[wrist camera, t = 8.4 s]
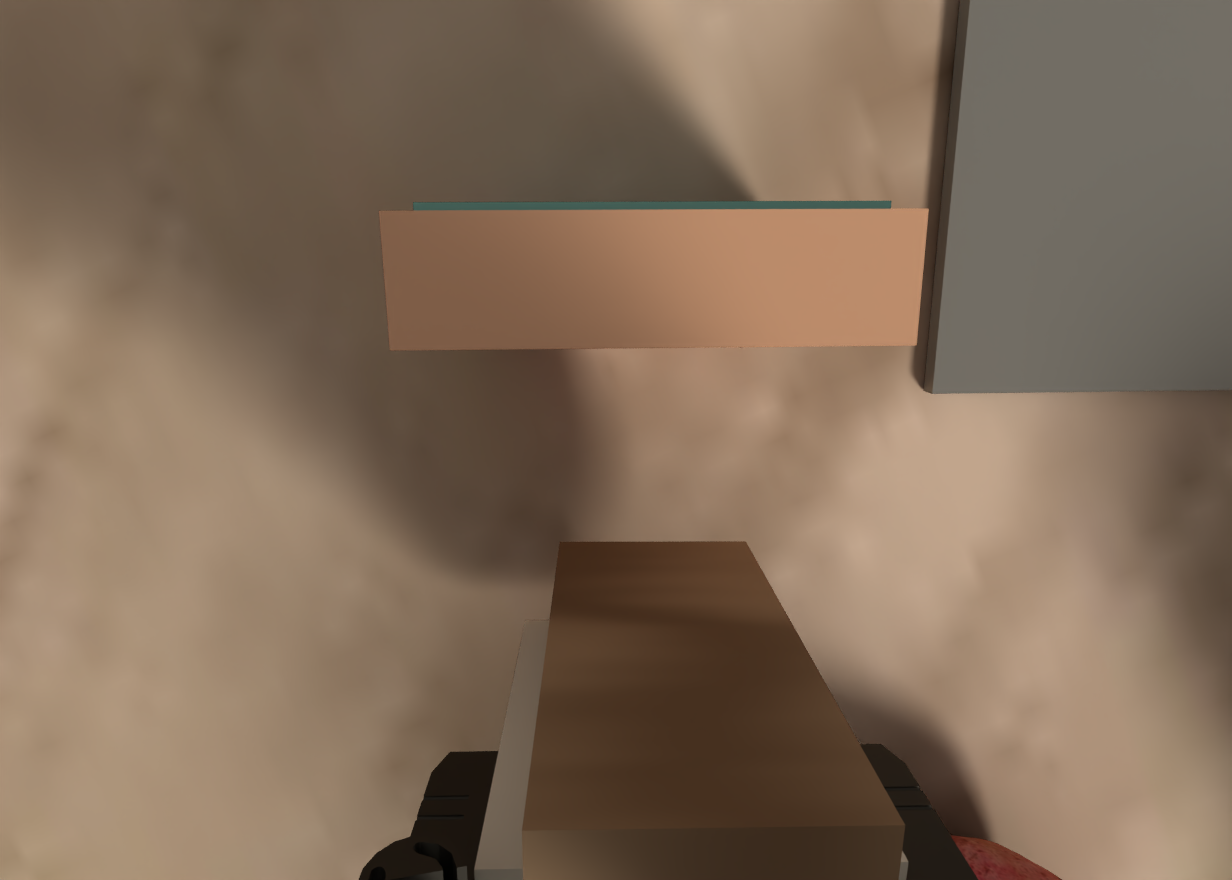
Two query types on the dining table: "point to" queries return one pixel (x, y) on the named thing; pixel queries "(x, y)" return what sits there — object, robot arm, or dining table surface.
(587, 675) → the push block
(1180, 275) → the coaster
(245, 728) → the dining table surface
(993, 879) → the fruit
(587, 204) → the tile
